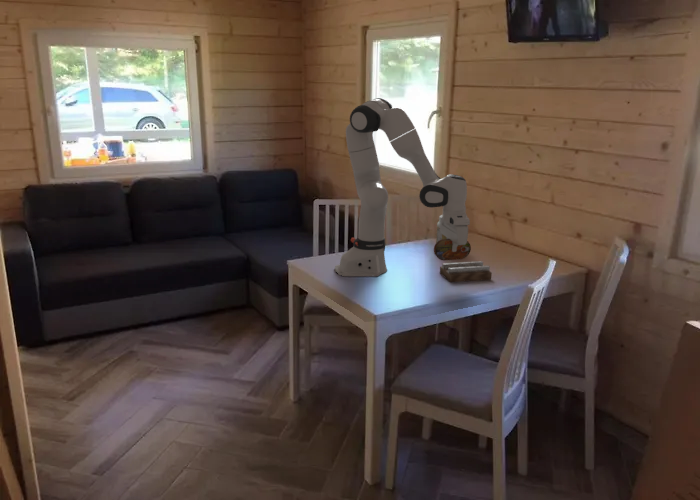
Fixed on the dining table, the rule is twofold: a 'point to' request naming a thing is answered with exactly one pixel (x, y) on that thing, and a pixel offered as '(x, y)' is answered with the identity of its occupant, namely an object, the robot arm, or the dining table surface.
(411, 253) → the dining table surface
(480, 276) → the dock
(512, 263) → the dining table surface
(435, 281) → the dining table surface
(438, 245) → the tin
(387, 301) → the dining table surface
